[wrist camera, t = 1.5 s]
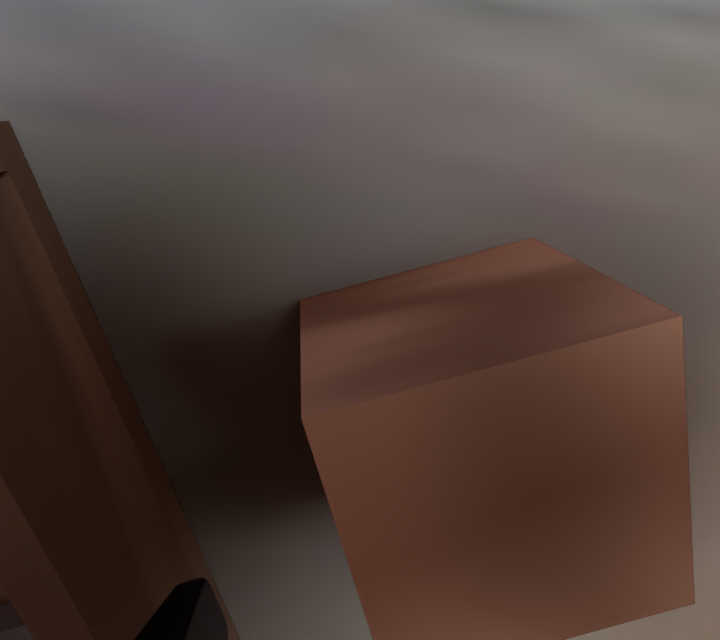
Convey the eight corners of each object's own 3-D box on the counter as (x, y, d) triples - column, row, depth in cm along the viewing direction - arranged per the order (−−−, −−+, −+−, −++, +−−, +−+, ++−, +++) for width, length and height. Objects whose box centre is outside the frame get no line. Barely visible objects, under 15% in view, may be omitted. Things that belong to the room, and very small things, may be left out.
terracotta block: (357, 490, 14) (388, 688, 9) (300, 298, 12) (301, 418, 7) (559, 435, 14) (694, 603, 9) (531, 236, 12) (682, 316, 7)
